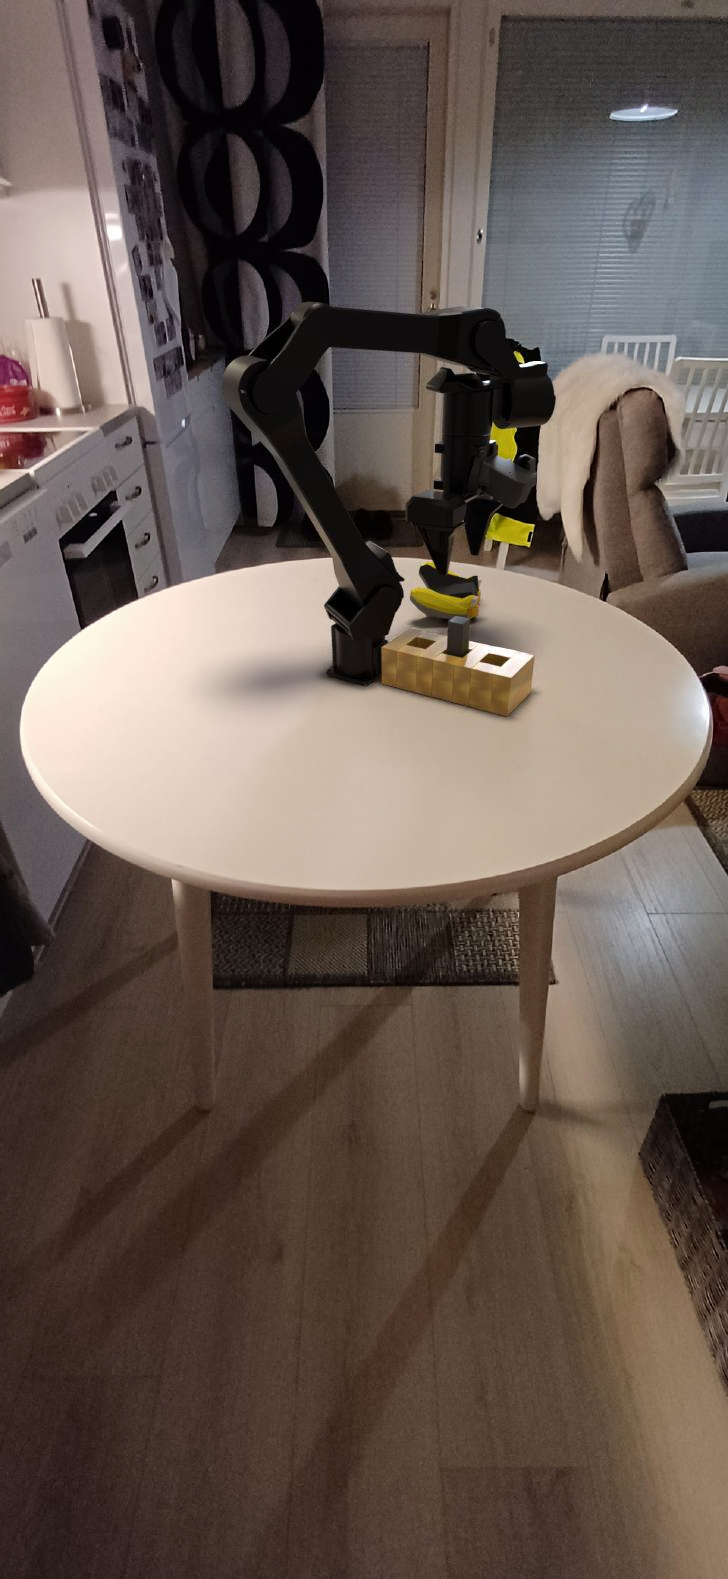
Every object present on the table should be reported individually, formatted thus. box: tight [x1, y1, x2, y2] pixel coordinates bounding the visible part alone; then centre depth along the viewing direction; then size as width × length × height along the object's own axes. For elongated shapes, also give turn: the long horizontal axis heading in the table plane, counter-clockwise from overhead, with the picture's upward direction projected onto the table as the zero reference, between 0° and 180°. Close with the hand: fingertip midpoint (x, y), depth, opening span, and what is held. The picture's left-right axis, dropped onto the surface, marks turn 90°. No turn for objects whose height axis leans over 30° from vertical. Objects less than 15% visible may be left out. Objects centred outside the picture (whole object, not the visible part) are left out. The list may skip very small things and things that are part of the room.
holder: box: [381, 627, 536, 717], centre depth 95 cm, size 17×7×5 cm, turn 58°
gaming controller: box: [409, 561, 483, 621], centre depth 117 cm, size 15×6×10 cm
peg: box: [446, 616, 471, 658], centre depth 94 cm, size 2×2×9 cm
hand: (459, 564), depth 99 cm, fingers open, 9 cm apart
